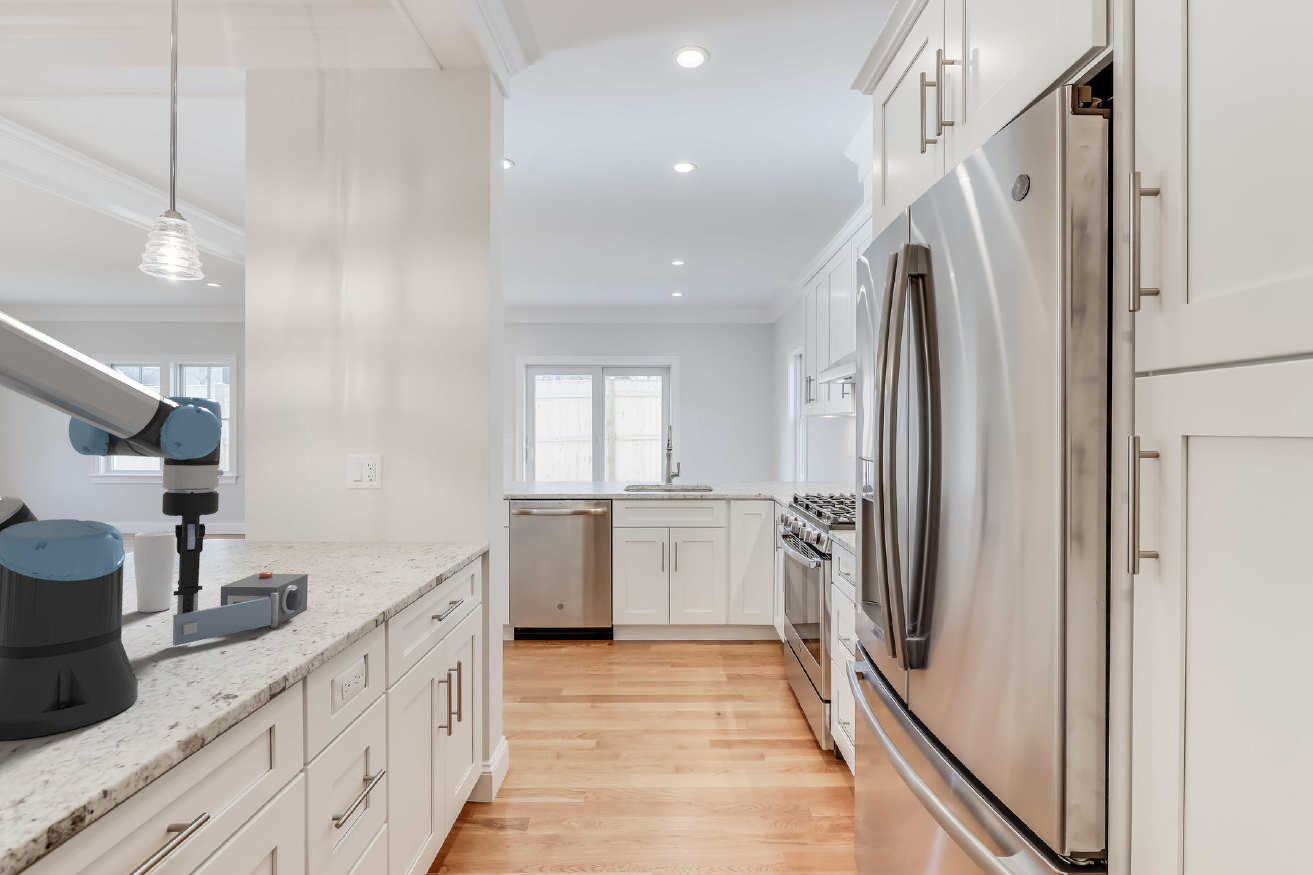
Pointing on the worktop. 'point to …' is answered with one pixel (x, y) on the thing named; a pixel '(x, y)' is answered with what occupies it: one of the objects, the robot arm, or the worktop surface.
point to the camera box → (263, 585)
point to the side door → (225, 620)
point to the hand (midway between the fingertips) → (186, 631)
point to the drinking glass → (154, 569)
